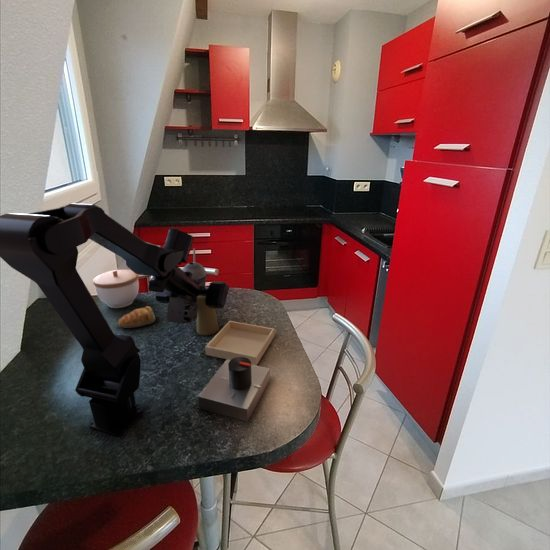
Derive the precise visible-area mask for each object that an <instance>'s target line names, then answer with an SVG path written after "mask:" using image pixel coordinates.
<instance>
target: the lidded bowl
mask: <svg viewBox="0 0 550 550" xmlns="http://www.w3.org/2000/svg"><path fill="white" fill-rule="evenodd" d="M92 283H93V285H94V290H95V293H96V295H97V297H98V299H99V300H100V302H101V303H103V304H105V305H106V306H108V307H109V308H112V309H123V308H126V307H128V306H130V305H132V304H133V303H134V300H136V298H137V296H138V294H139V290H140V282H139V275H138V274H135V273H134V272H133V271H132V270H131V269H114V270H108V271H105V272H102V273H100V274H98V275H96V276H94V277H93V279H92Z"/></svg>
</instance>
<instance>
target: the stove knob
mask: <svg viewBox="0 0 550 550" xmlns="http://www.w3.org/2000/svg"><path fill="white" fill-rule="evenodd" d="M228 369H229V384H230V386H231V387H232V388H233V389H235V390H244V389H247V388H248V387H249V386H250V385H251V383H252V372H251V361H250V360H249V359H248V358H246V357H236V358H233V359H231V360H230V361H229V363H228Z"/></svg>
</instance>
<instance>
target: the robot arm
mask: <svg viewBox="0 0 550 550" xmlns="http://www.w3.org/2000/svg"><path fill="white" fill-rule="evenodd" d="M88 240H91V241H92V242H94V243H95V244H98V245H99V246H101V247H103V248H105V249H106V250H108V251H110V252H112V253H113V254H115V255H117V256H119V257H120V258H122V259H123V260H124V262H125V266H126V267H127V268H128V269H129V270H132V271H133V272H134V273H135V274H138V276H139V275H140V276H147V277H150V279H148V286H147V288H148V292H153V293H155V300H156V301H157V302H158V303H160V304H165V305H167V310H166V320H167V322H169V323H175V324H185V323H186V324H191V323H192V322H193V321H196V320H197V308H196V307H193V304H196V301H197V297H198V296H206V299H205V302H206V305H207V306H208V307H209V308H214V309H221V310H222V309H224V308H225V306H226V301H227V298H228V294H229V290H230V286H229V284H228V283H227V282H225V281H216V280H212V281H211V282H209V284H208V286H206V285H205V286H199V285H200V282H201V281H200V280H199V279H193V278H191V277H192V273H191V272H184V271H183V269H182V268H180V265H182V264H188V263H187V262H188V259H189V256H190V253H191V250H192V247H193V244H194V241H195V238H194V236H193V235H192V234H189V233H187V232H185V231H182V230H180V229H179V228H178V227H169V229H168V232H167V236H166V240H165V241H164V245H163V246H161V245H159V244H153V243H150V242H147V241H145V240H143V239H142V238H140V237H139V236H137V235H136V234H135V233H133V232H132V231H130V230H129V229H128V228H126V227H125V226H123V225H122V224H120V223H119V222H118V221H117V220H115V219H113V217H111V216H110V215H109V214H107V213H106V211H105V210H104V209H103V208H102V207H100V206H98V205H96V204H92V203H91V204H90V203H73V202H72V203H68V204H65V205H62V206H60V207H56V208H51V209H45V210H39V211H35V212H29V213H15V212H11V213H8V212H7V213H4V214H1V215H0V258H1V259H2V261H4V263H6V264H7V265H8V266H9V267H10V268H12V270H13V269H14V270H15V271H16V272H18V273H20V274H21V275H23V276H25V277H26V278H27V279H30V280H31V281H32V282H34V283H35V284H36V285H37V286H38V288H39V289H40V291H41V292H42V293H43V295H44V296H45V297H46V299H47V300H48V302H49V303H50V304H51V306H52V307H53V309H54V310H55V311H56V313H57V314H58V315H59V317H60V319H62V321H63V323H64V325H66V327H67V328H68V329H69V331H70V333H71V334H72V335H73V337H74V338H75V340H76V341H77V342H78V343H79V345H80V347H81V348H82V353H81V358H80V361H81V364H82V367H83V369H82V371H81V374H80V377H79V379H78V382H77V384H76V386H75V389H74V391H75V392H76V393H77V395H79V397H86V398H90V400H89V401H88V403H89V407H90V410H91V415H92V418H93V419H92V420H91V422H90V423H88V427H89V428H90V429H92V430H94V431H95V430H96V431H99V432H102V433H104V434H108V435H110V436H113V437H119V436H120V435H121V434H122V433H123V432H124V431H125V430H126V429H127V428H128V427H129V426H130V424H132V423H133V421H134V420H135V419H136V418H137V417H138V416H139V415H140V414H141V413H142V412H143V407H141V406H137V405H136V404H137V402H136V398H135V397H136V396H135V392H136V391H137V390H138V389H139V388H140V378H141V367H142V365H141V364H142V363H141V362H142V361H141V356H140V354H139V353H140V352H141V349H140V348H138V347H137V344H136V343H135V339H134V338H133V337H132V336H131V335H126V334H120V333H114V332H113V330H112V328H111V327H110V325H109V323H108V322H107V320H106V318H105V316H104V314H103V312H102V311H101V309H100V308H99V306H98V303H97V302H96V301H95V299H94V298H93V296H92V294H91V292H90V291H89V289H88V287H87V286H86V284H85V282H84V280H83V279H82V277H81V275H80V273H79V271H78V270H77V264H78V257H79V250H78V249H79V248H78V247H79V246H82V245H84V244H85V243H87V242H88Z"/></svg>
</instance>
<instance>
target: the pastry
mask: <svg viewBox="0 0 550 550" xmlns="http://www.w3.org/2000/svg"><path fill="white" fill-rule="evenodd" d="M153 311H154V310H153V309H152V307H151V306H148V305H146V306H145V307H139V308H135V309H133V310H132V311H130V312H129V313H126V314H124V315H123V316H121V317H120V318H118V322H117V324H118V327H120V328H122V329H132V328H139V327H143V326H146V325H151V324H153V323H154V322H156V316H155V313H154V312H153Z"/></svg>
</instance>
